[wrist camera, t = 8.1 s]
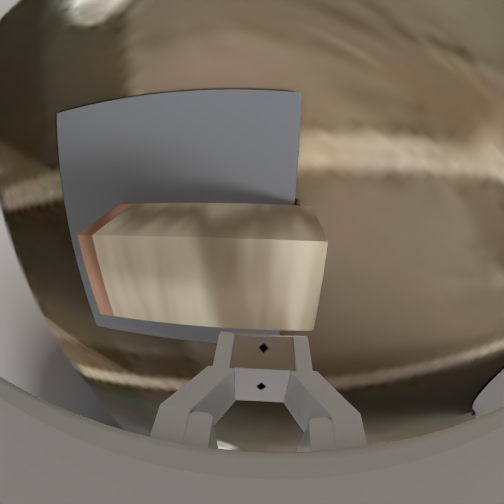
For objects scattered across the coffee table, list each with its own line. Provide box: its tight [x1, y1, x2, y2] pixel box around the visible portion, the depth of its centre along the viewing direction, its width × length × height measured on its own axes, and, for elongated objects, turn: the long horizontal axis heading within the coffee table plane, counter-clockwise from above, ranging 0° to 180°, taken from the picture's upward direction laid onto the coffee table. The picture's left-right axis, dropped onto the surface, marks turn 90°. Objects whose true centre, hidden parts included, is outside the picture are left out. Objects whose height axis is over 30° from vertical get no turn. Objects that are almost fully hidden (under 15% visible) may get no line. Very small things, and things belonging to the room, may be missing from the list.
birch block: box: [78, 203, 328, 331], centre depth 15 cm, size 5×5×12 cm
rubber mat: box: [57, 89, 302, 343], centre depth 18 cm, size 16×18×1 cm
